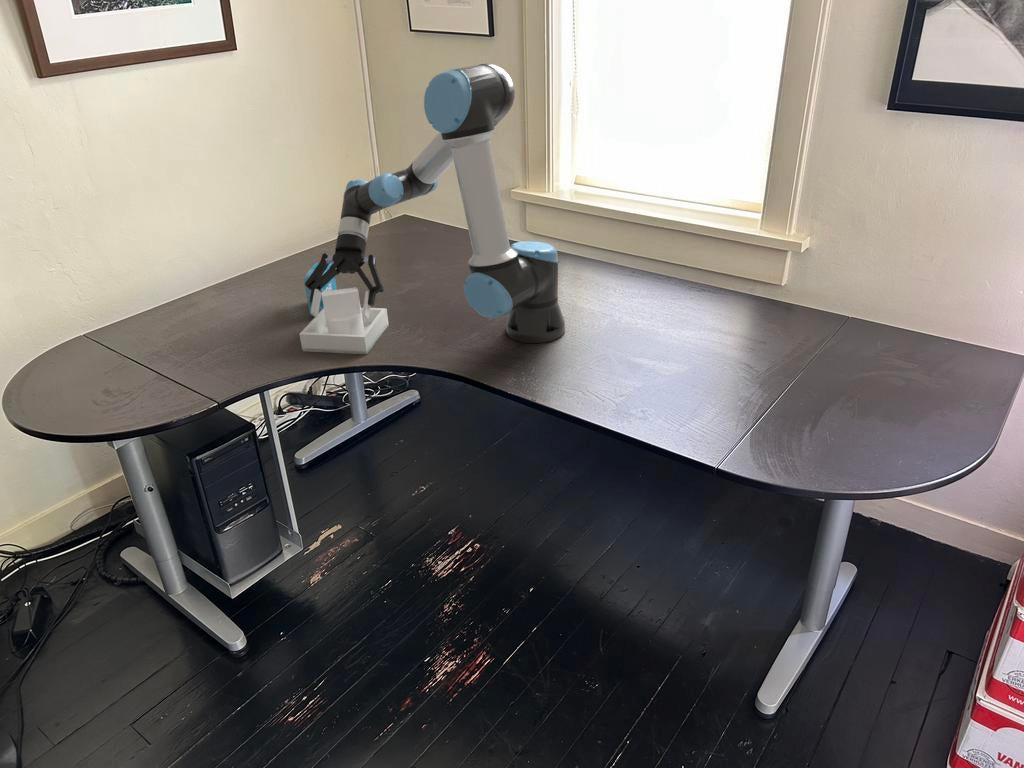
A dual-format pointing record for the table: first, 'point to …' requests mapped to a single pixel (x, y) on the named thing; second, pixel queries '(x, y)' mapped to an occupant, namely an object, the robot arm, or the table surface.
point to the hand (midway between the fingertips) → (339, 316)
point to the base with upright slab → (343, 311)
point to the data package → (328, 287)
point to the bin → (344, 335)
